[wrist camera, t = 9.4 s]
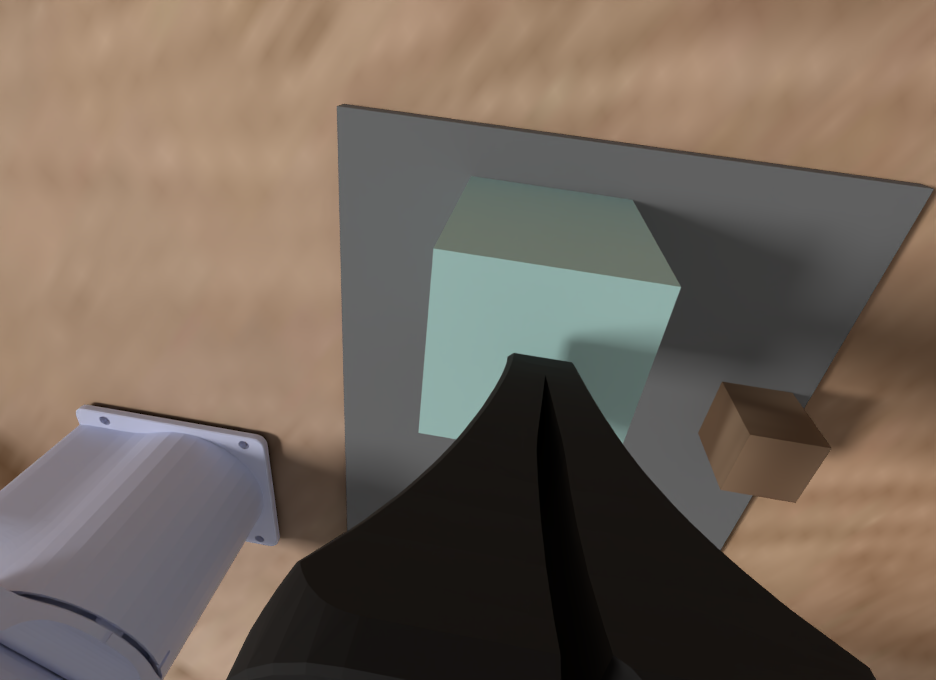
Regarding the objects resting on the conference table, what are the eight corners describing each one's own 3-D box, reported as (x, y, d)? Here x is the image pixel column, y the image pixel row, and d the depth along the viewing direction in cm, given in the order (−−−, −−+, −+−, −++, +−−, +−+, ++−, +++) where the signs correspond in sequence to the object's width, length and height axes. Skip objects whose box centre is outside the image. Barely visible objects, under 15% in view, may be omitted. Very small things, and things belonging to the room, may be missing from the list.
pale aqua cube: (455, 316, 19) (418, 432, 13) (471, 176, 16) (433, 248, 11) (592, 338, 19) (614, 467, 13) (632, 199, 16) (680, 287, 10)
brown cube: (697, 433, 20) (720, 490, 18) (721, 381, 19) (750, 434, 16) (763, 444, 20) (795, 502, 18) (792, 392, 19) (831, 448, 16)
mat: (351, 562, 29) (348, 572, 28) (343, 104, 16) (336, 106, 16) (669, 621, 28) (671, 632, 27) (920, 184, 15) (933, 188, 15)
